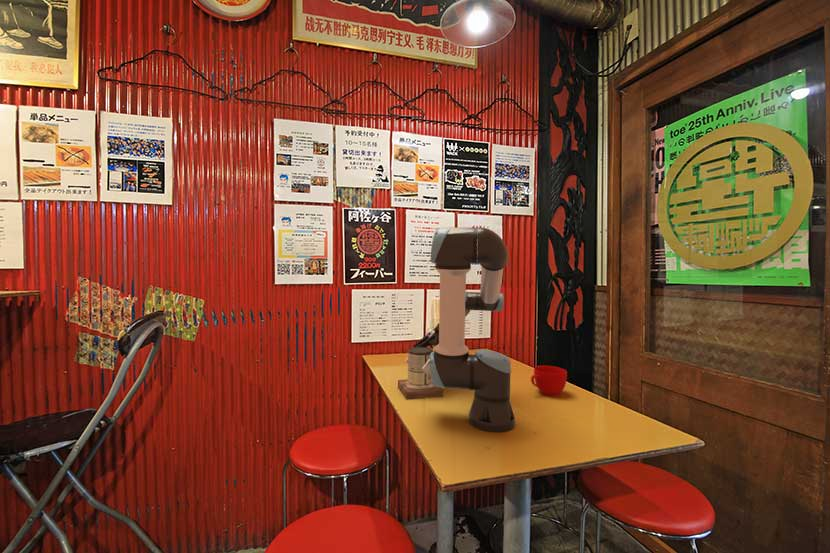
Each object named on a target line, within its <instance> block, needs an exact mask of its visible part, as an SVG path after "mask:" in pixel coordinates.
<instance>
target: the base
mask: <svg viewBox="0 0 830 553" xmlns="http://www.w3.org/2000/svg"><path fill="white" fill-rule="evenodd" d="M397 388H398V390H399V391H400V392H401V394H402V395H403V397H404V398H405V399H406V400H415V399H417V400H418V399H425V398H426V399H428V398H429V399H430V398H439V397H440V398H441V397H443V396H444V388H442V387H436V386H435V385H434V384H433V382H432V384H431V385H430V386H427V387H414V386H410V385H409V384H408V378H407V379H398V380H397Z"/></svg>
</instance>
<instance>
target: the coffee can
mask: <svg viewBox="0 0 830 553" xmlns="http://www.w3.org/2000/svg"><path fill="white" fill-rule="evenodd" d="M407 352H408V353H407V358H408V363H407V379H408V384H409V385H410V386H414V387H427V386H430V385H431V384H432V379H431V374H430V370H429V371H428V372H427V373H426V372H425V371H424V370H423V369H422V368H423V366H424V365H425V364H426V363H427V361H428V360H429V359H430V354H431V353H432V352H434V350H433V349H432V348H430V347H413V346H412V347H410V348H408V349H407Z"/></svg>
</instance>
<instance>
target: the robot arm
mask: <svg viewBox="0 0 830 553" xmlns="http://www.w3.org/2000/svg"><path fill="white" fill-rule="evenodd" d="M430 247H431V249H430V263H431V264H434V265H435V266H434V269H435V270H436V272H438V273H439V305H438V306H439V307H438V308H439V310H438V312H439V314H438V316H439V318H438V320H439V321H438V322H439V323H437V325H436V326H435V327H434V329H433V330H434V332H433V333H431V331H429V332H428V333H427V334H425V336H424V337H422V338H420V339H419V340H418V341H417V342H415V343H414V344H413V345H412V348H413V347H426V348H429V347H432V346H434V350H433V352H432V353H431V354H430V359H429V360H428V361H427V363H426V364H425V365H424V366H423V368H422V369H423V370H424V371H425V372H426V373H427V372H428V371H429V370H430V374H431V379H432V382H433V384H434V385H435V386H436V387H441V388H442V389H451V390H452V389H455V390H466V391H468V390H469V391H474V393H473V394H474V398H473V400H472V402H471V405H470V409H469V412H468V423H469V424H470V425H472V426H473V427H475V428H477V429H479V430H482V431H485V432H486V431H487V432H493V433H495V432H496V433H502V432H509V431H511V430H513V429H514V428H515V426H516V424H515V423H516V417H515V414H514V410H513V408H512V403H511V373H512V369H511V364H512V363H511V360H510V358H509V357H508V356H507V355H505V354H503V353H500V352H498V351H493V350H489V349H477V350H476V351H475V352H474V354H470V350H469V349H470V348H469V347H468V346H467V345H466V344H465V340H466V339H465V338H466V335H465V334H466V333H465V332H466V330H465V328H466V317H467V316H468V315H469V314H470V312H471V311H482V312H484V311H485V312H502V311H503V310H504V306H505V305H504V304H505V302H504V300H505V299H504V298H505V297H504V294H503V293H501V288H502V281H503V275H504V268H505V267H506V266H507V265H508V261H509V251H508V250H509V249H508V246H507V245H506V243H505V241H504V239H503V238H501V236H500V235H499V234H498V233H496V232H495V231H493V230H492V229H490V228H486V227H455V226H454V227H453V226H449V227H439V228H437V229H436V230H435V232H434V234H433V237H432V242H431V246H430ZM472 264H473V265H477V264H478V265H479V264H480V267H481V269H480V272H481V273H480V274H481V275H480V291H479V292H477V291H476V292H475V291H467V289H466V287H467V281H466V280H467V274H468V273H469V272H470V270H472V268H471V267H472V266H471V265H472ZM404 361H405V362H406V364H408V357H407V358H405V360H404Z"/></svg>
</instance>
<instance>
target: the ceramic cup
mask: <svg viewBox="0 0 830 553" xmlns="http://www.w3.org/2000/svg"><path fill="white" fill-rule="evenodd" d="M567 379H568V371H567V369H564V368H562V367H558V366H553V365H537V366H536V365H535V367H534V368H533V374H532V375H531V377H530V381H531V383H532V385H533V386H534V387H536V388H537V389H538V390H539V391H540V392H542V393H543V395H544V394H545V396H548V397H557V396H559V395H560V394H561V393H562V392H563V391H564V389H565V387H566V384H567ZM542 393H541V394H542Z"/></svg>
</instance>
